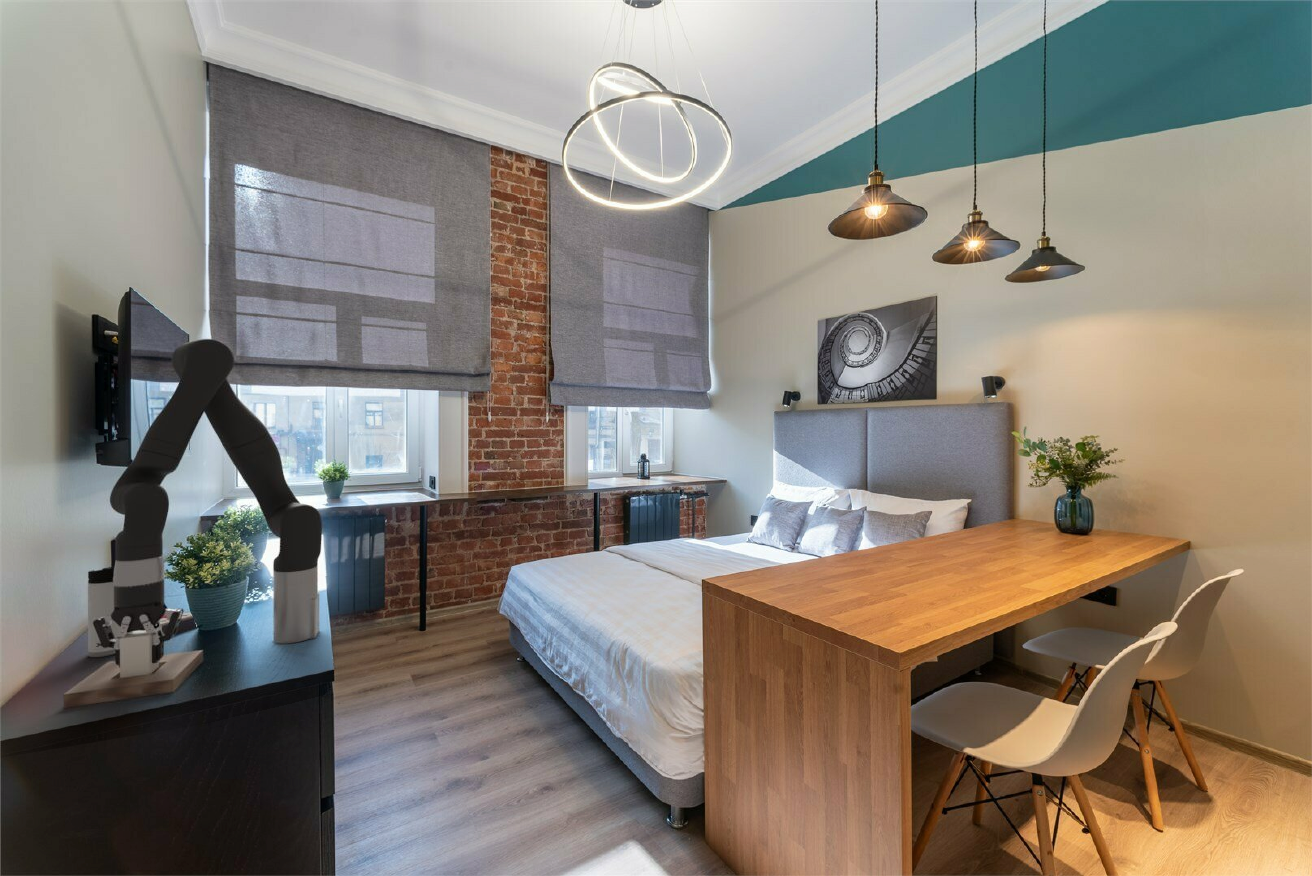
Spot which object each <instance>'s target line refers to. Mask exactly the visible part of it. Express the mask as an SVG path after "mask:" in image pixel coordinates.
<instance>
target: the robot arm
mask: <svg viewBox="0 0 1312 876" xmlns="http://www.w3.org/2000/svg"><path fill="white" fill-rule="evenodd" d="M171 364H172V368H173V370H174V372H175V373H176V375H177V376H178V378H179V382H178V384H177V387H176V389H175V390H174V392H173V394H172V396H171V398H170V399H169V400H168V402H167V403H166V405H165V406H164V407H163V408H162V410H161V411H160V412H159V414H158V415H157V416H156V418H155V419H154V420H153V422H152V423H151V425H150V426H149V427H148V430H147V431H146V433H145V435H144V437H143V440H142V441H141V443H140V446H139V448H138V450H137V451H136V455H135V457H134V458H133V459H132V461H131V463H130V464H129V465H128V466H126V469H125V470H124V471H123V473H122V474H121V475H120V476H119V478H118V480H116V482H115V484H114V486H113V488H112V490H111V492H110V496H109V503H110V506H111V508H112V509H113V510H114V511H115V512H116V513H117V514H119V515H123V516H124V520H123V529H122V531H120V532H118V533H117V535H116V538H115V542H114V543H115V544H114V545H115V547H114V548H115V563H114V567H115V568H114V577H113V582H114V611H113V612H112V614H111V615H108V616H102V617H99V618H98V619H96V620H95V621H93V625H94V628H95V630H96V632H97V635H98V637H99V640H100V642H101V645H102V647H103V648H107V647H110V648H114V649H115V654H114V656H115V657H114V658H115V660H114V661H115V663H116V665H119V668H120V638H124V637H126V636H127V635H129V634H130V633H132V632H133V631H136V630H141V631H144V630H145V631H146V633H147V635H150V634H151V636H152V643H153V645H152V663H157V662H158V661H159V660H160V659H161V658H162V657H163V655H165V642H166V641H167V642H168V641H170V640H171V639H172V638H174V637H175V636H176V635H177V634H176V632H177V629H178V626H179V623H180V620H181V617H182V614H183V613H185V612H184V611H185V610H184V608H177V609H173V608H168V606H167V605H166V603H165V563H164V555H163V554H164V553H163V552H164V551H163V549H164V548H163V547H164V544H163V533H164V530H165V527H166V523H167V518H168V514H169V509H170V508H169V507H170V498H169V495H168V494H169V493H168V492H167V490H166V489H165V488H164V487H163V486H162V485H161V484H162V482H163V481H164V479H165V478H166V476H168V475H169V474H172V473H173V472H175V471H176V470H177V468H178V467H179V465H180V463H181V461H182V460H183V459H182V458H183V456H184V454H185V452H186V451H187V447H188V445H189V444H190V441H191V439H192V437H193V434H194V432H195V430H196V428H197V426H198V425H199V422H200V420H201V418H202V416H203V415H204V414H205V415H206V417H207V421H209V422H208V423H210V425H211V427H212V429H213V430H214V433H215V434H216V436H217V437H218V439H219V441H220V443H221V445H222V446H223V449H224V450H225V452H226V454H227V455H228V457H229V458H230V460H231V462H232V464H233V465H234V466H235V468H236V470H237V471H238V473H239V475H240V476H241V478H242V479H243V480H244V482H245V483H246V485H247V487H248V488H249V490H250V491H251V492H252V493H253V495H254V497H255V499H256V502H257V503H258V505H259V508H260V510H261V512H262V515H263V516H264V519H265V521H266V522H265V523H266V524H267V526H268V528H269V530H270V532H271V533H272V534H273V535H275V537H277V538H279V552H278V555H277V556H275V558H274V560H273V562H272V563H273V565H272V566H273V568H272V569H273V570H272V571H273V575H272V576H273V584H272V585H273V590H272V592H273V600H272V601H273V603H272V605H273V609H272V610H273V616H272V617H273V621H272V622H273V632H272V633H273V642H274V643H277V644H291V643H292V644H294V643H299V642H302V641H306V640H309V639H310V640H311V639H315V638H316V637H318V636H317V635H318V634H319V632H320V594H319V593H318V591H319V589H318V587H319V586H318V585H319V584H318V581H319V580H318V579H319V575H318V574H319V573H318V570H319V569H318V568H319V567H318V562H319V561H318V560H319V558H320V555H321V551H322V539H323V536H322V533H323V522H322V516H321V513H320V512H319V510H318V509H317V508H315V507H314V506H312V505H309V504H306V503H301V502H300V501H299V500H298V498H297V497H296V496H295V495H294V492H293V491H292V490H291V488H290V487H289V484H288V483H287V481H286V479H285V475H284V468H283V463H282V462H283V461H282V459H281V454H280V451H279V449H278V447H277V444H276V443H275V441H274V439H273V437H272V436H271V434H270V432H269V430H268V428H267V427H266V426H265V424H264V423H263V421H261V419H260V418H259V417H258V416H256V415H255V413H254V412H253V411H251V410H250V408H248V407H247V406H246V405H245V403H243V402H242V401H241V399H240V398H239V397H238V396H237V394H236V392H235V391H234V389H233V387H232V386H231V383H230V382H229V380H228V377H229V375H230V373H231V371H232V370H233V368H234V366H235V356H234V353H233V351H232V349H230V347H229V346H228V345H227V344H225V343H224V342H222V341H220V340H219V339H218V340H217V339H213V338H200V339H196V340H192V341H189V342H185V343H183V344H180V345H178V346H177V347H176V348H175V349H174V350H173V353H172V355H171ZM164 614H165V615H167V620H169V624H168V626H167V629H166V632H165V634H163V632H162V626H161V624H160V622H159V620H160V619H161V618H162V617H163V616H164ZM112 620H114V621H115V622H116V623H117V624H118V625H119V626H120V629H119V632H118V634H117V639H115V636H114V634H113V631H112V629H111V626H110V625H111V624H112Z"/></svg>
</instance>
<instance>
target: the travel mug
mask: <svg viewBox="0 0 1312 876" xmlns="http://www.w3.org/2000/svg"><path fill="white" fill-rule="evenodd" d="M114 568H115V566H109V567H104V568H102V569H98V570H89V571H88V572H87V648H88V649H87V655H88V657H89V658H102V657H107V656H112V655H113V656H114V655H115V649H114V648H110V647H107V648H103V647H102V645H101V642H100V640H99V637H98V635H97V632H96V630H95V628H94V625H93V621H95V620H96V619H98V618H99V617H102V616H108V615H111V614H112V612H113V611H114V582H113V577H114ZM110 626H111V629H112V631H113V634H114V636H115V639H117V634H118V632H119V629H120V626H119V625H118V624H117V623H116V622H115V621H114V620H112V624H111V625H110Z"/></svg>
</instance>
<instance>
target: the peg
mask: <svg viewBox="0 0 1312 876" xmlns="http://www.w3.org/2000/svg"><path fill="white" fill-rule="evenodd" d="M152 645H153V643H152V636H151V634H150V635H147V633H146V631H145V630H144V631H141V630H139V631H133V632H132V633H130V634H129V635H127V636H126V637H124V638H120V678H125V677H132V676H140V675H147V674H151V673H152V672H154V671H155V670H156V669H157V668H158V667H159V661H158V662H157V663H152Z"/></svg>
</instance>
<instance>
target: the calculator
mask: <svg viewBox="0 0 1312 876" xmlns="http://www.w3.org/2000/svg"><path fill="white" fill-rule="evenodd" d="M191 613H192V612H183V614H182V617H181V620H180V623H179V626H178V629H177V632H176V634H175V635H177V634H182V633H185V632H187V631H190V630H192V629H196V628H197V627H196V624H195V622H194V618H193V616H192V614H191ZM159 622H160V624H161V626H162V632H163V634H165V632H166V629H167V626H168V624H169V620H167V615H165V614H164V616H163V617H162V618H161V619H160V620H159ZM136 631H139V630H136Z"/></svg>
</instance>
